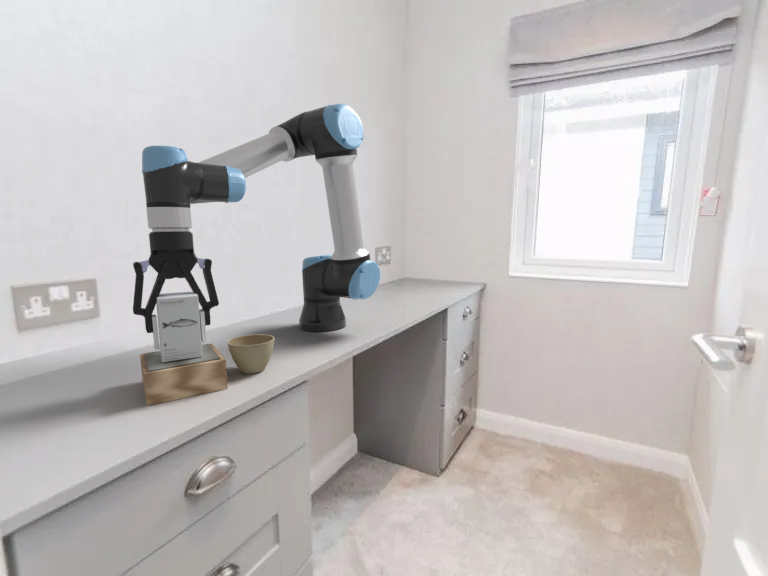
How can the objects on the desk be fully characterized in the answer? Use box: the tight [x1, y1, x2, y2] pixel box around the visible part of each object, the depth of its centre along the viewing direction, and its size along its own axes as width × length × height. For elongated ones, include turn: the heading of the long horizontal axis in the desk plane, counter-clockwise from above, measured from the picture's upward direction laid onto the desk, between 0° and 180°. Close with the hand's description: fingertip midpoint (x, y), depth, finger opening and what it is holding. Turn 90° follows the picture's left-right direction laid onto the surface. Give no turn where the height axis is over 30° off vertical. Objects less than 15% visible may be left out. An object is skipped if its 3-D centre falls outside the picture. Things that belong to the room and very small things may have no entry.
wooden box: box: [139, 343, 229, 407], centre depth 82 cm, size 14×14×6 cm
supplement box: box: [156, 290, 203, 363], centre depth 81 cm, size 7×7×13 cm
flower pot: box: [226, 333, 275, 375], centre depth 91 cm, size 10×10×7 cm
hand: (180, 344), depth 81 cm, fingers open, 8 cm apart
